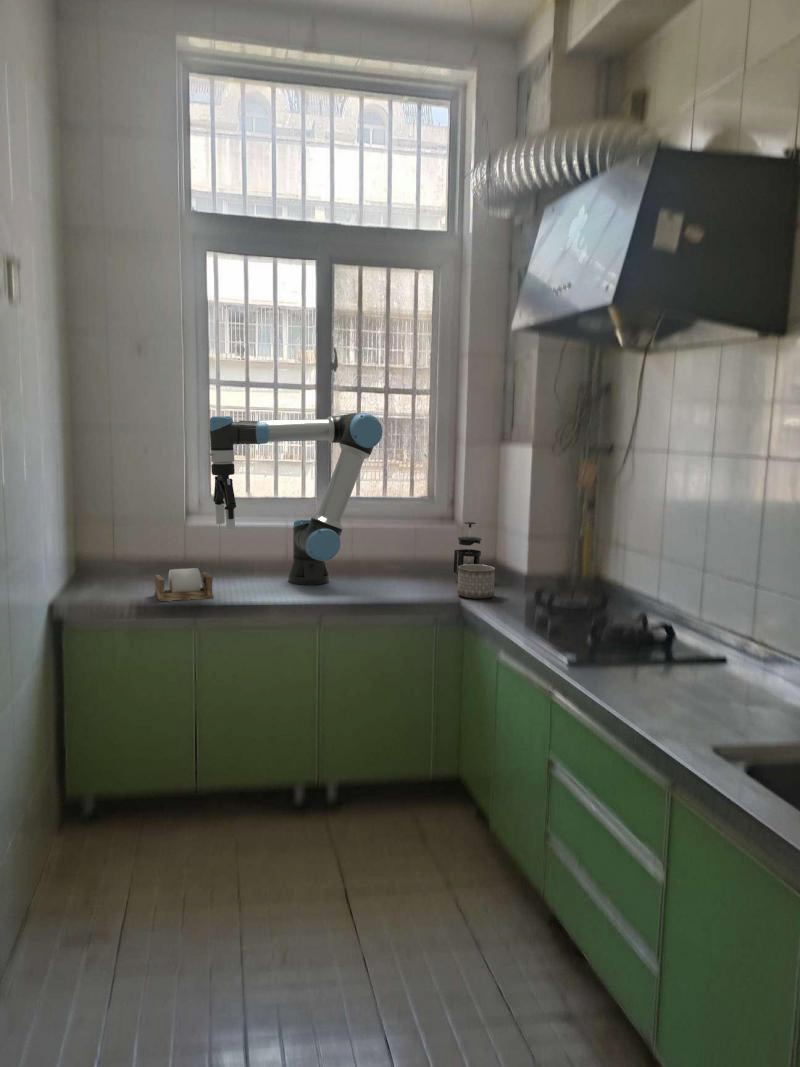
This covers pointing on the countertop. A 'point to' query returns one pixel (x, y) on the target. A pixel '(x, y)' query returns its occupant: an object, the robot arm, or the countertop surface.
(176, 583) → the roll
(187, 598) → the holder
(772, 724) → the countertop surface
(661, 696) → the countertop surface
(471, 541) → the french press
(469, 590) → the planter
